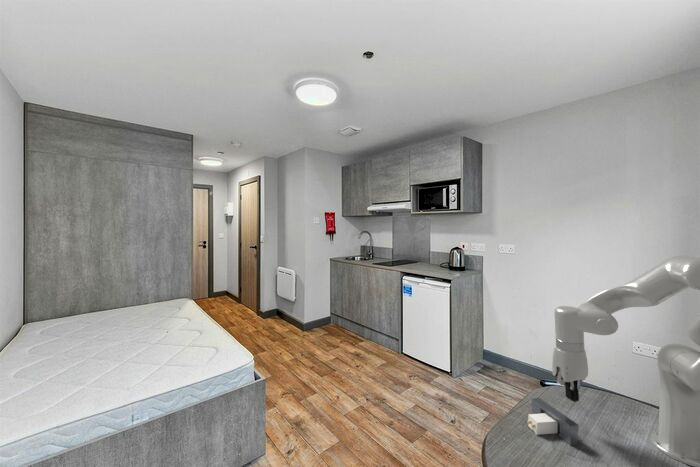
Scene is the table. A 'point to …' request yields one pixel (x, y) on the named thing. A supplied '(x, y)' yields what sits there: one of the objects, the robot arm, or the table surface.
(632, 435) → the table surface
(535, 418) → the plug
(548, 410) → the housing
